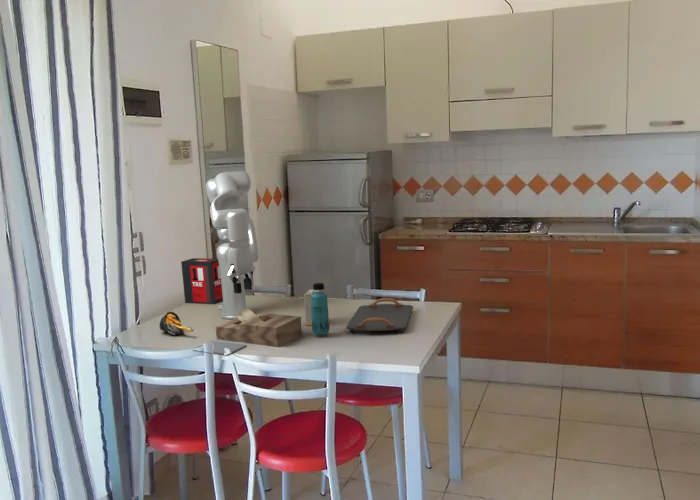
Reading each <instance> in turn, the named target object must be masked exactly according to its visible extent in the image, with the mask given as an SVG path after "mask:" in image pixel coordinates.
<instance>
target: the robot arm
mask: <svg viewBox="0 0 700 500" xmlns="http://www.w3.org/2000/svg"><path fill="white" fill-rule="evenodd" d="M251 182H252V181H251V178H250V174H249V173H248V172H246V171H245V170H236V171H234V170H233V171H223V172H220V173H218V174H217V175H216V176H215V178H211V179H209V180H207V181H206V183H205V190H206V195H207V198H208V201H209V203H210V208H209V209H210V210H209V212H210V218H211V223H212V226H213V227H214V228H215V230H216V231H217V236H218V237H217V238H218V239H220V241H223V242H225V243H221V244H219V245H218V246H217V248H216V257H217V258H216V259H218V262H219V267H220V274H221V284H222V296H223V301H222V304H218V305H219V306H217V310H218V311H221V313H220V318H222V319H225V320H226V319H227V320H233V319H236V318H237V316H238V314H239V312H240V310H243V309H246V308H247V303H246V302H247V301H246V290H248V291H251V290H253V286H252V279H253V274H254V271H255V270H256V268H255V266H254V263H256V262H258V260H259V256H260V255H259V252H260V251H259V247H258V246H259V245H258V240H257V239H258V238H257V233H256V228H255V227H256V226H255V224H254V221H253V220H252V218H250V217H251V216H250V213H249V212H248V211H247V210H246V208H235V206H236V205H237V204H239V202H240V199H241V197H243V196H247V194H248V193H249V191H250V190H251V187H252V183H251Z"/></svg>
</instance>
